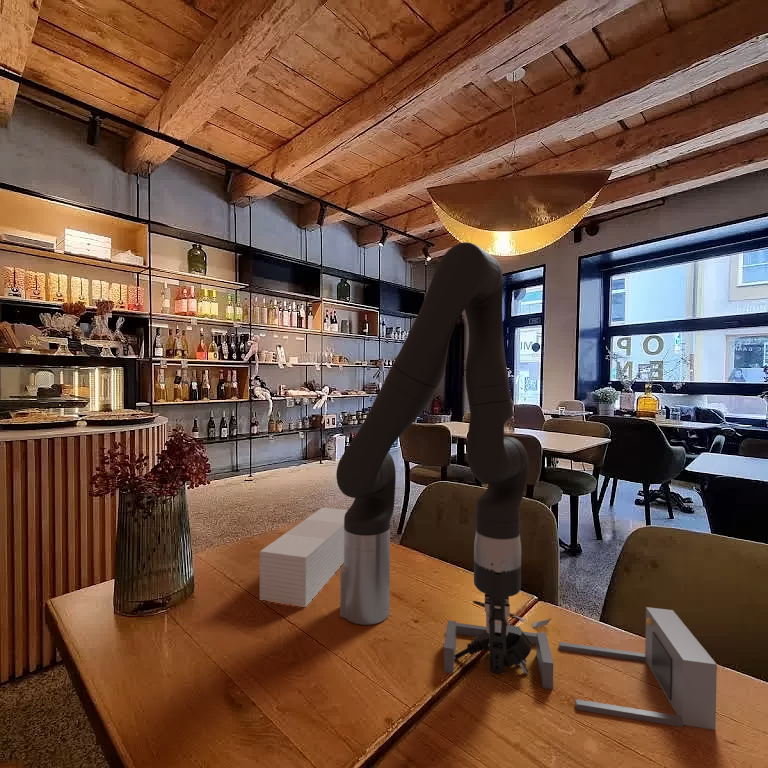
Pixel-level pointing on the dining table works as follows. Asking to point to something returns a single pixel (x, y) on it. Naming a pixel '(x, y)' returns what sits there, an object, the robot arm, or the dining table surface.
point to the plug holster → (474, 630)
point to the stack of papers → (303, 558)
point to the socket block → (666, 673)
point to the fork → (536, 624)
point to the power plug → (515, 647)
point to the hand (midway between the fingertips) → (496, 659)
